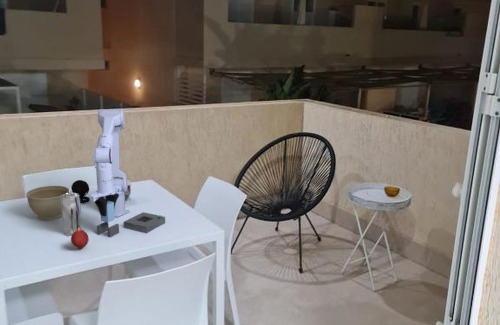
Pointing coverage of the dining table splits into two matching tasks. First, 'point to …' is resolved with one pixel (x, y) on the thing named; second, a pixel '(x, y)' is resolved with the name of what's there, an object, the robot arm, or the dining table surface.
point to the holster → (108, 229)
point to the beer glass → (71, 212)
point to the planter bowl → (46, 201)
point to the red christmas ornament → (79, 239)
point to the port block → (144, 222)
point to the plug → (109, 213)
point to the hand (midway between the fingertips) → (107, 214)
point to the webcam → (81, 190)
